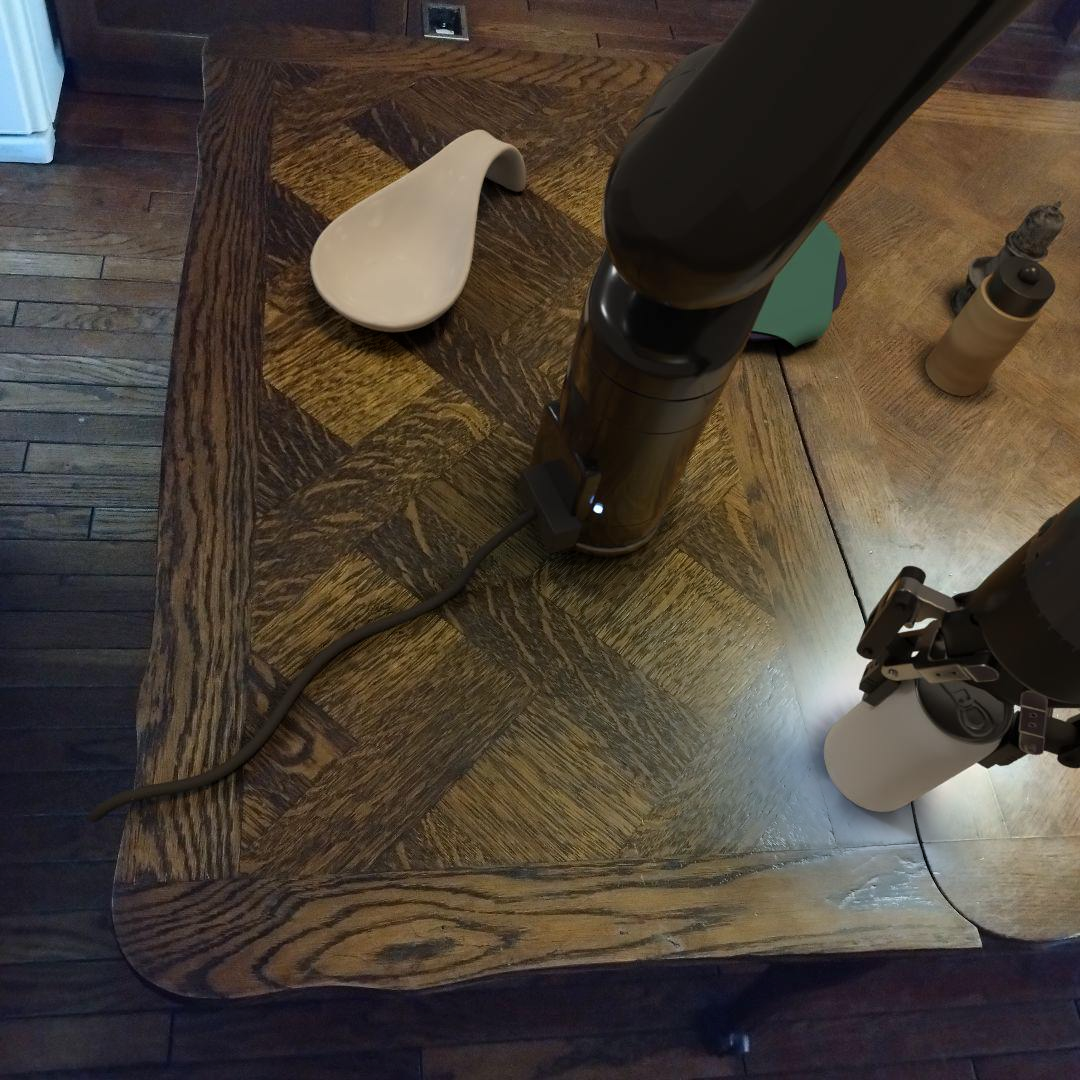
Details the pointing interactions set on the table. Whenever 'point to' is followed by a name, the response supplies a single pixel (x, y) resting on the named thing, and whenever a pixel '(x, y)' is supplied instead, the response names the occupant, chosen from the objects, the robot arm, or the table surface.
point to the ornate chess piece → (1015, 248)
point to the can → (912, 741)
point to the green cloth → (804, 291)
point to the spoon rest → (412, 237)
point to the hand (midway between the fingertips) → (927, 721)
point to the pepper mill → (990, 326)
